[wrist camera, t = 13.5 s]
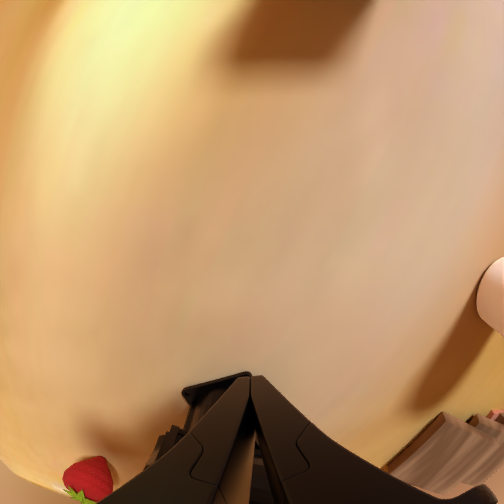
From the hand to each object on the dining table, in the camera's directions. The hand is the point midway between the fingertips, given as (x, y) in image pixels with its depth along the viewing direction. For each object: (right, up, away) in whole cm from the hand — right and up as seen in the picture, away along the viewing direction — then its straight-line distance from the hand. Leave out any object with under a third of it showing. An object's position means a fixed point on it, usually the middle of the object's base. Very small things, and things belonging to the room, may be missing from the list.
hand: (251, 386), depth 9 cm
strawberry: (-20, -22, +19) cm, 36 cm away
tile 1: (+18, -18, +15) cm, 30 cm away
